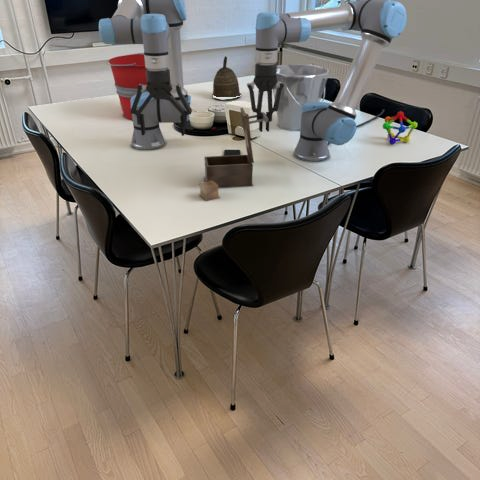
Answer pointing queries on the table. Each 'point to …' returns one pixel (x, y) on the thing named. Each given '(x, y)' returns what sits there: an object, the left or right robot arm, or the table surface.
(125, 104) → the bucket
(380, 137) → the table surface
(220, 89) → the bell
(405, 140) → the educational toy
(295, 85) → the bucket
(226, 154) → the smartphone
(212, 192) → the block
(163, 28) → the left robot arm
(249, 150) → the lid
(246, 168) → the chest
